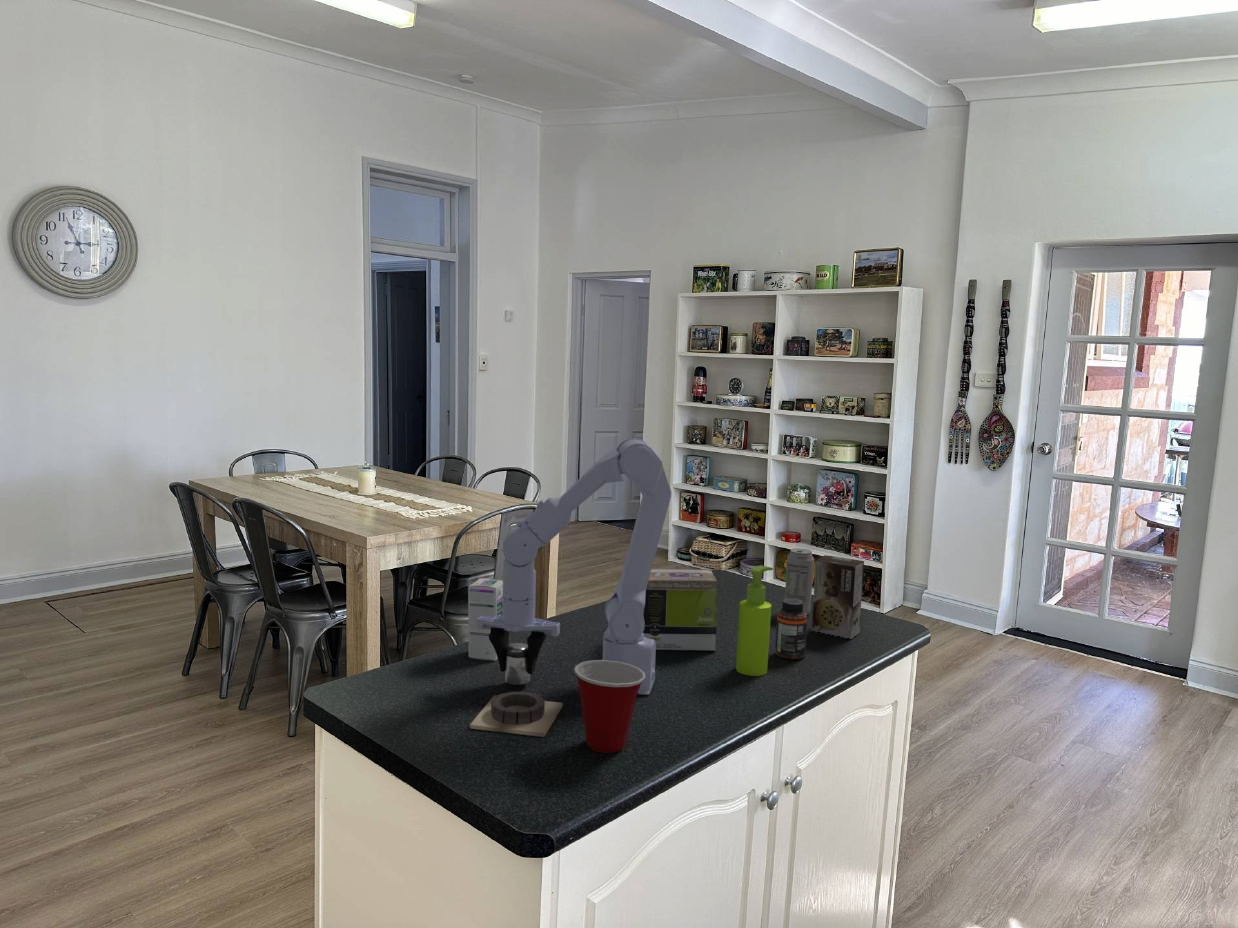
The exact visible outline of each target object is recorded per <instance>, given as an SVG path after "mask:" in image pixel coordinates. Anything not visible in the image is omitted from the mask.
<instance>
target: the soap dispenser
mask: <svg viewBox="0 0 1238 928" xmlns="http://www.w3.org/2000/svg"><path fill="white" fill-rule="evenodd" d="M773 569H774V568H773V567H771V566H766V565H755V566H753V567H752V568H749V569H748V572H749V573H751V574H752V580H751V581H752V582H749V583H748V584H747V587H746V588H747V589H746V599H743V600H740V601H739V612H738V625H737V626H738V629H737V630H738V631H737V644H736V665H735V670H736V672H738V673H739V674H741V675H745V676H748V675H749V676H750V677H760V676H761V675H762V676H765V675H767V673H768V665H769V664H768V663H769V649H770V632H771V619H772V617H771V616H772V604H771V603H770V602H768V601H766V589H767V587H766V585H764V584H763V583H762V578H763V577H762V576H763V573H764V572H767V571H773ZM764 674H765V675H764Z"/></svg>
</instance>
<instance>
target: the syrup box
mask: <svg viewBox="0 0 1238 928" xmlns="http://www.w3.org/2000/svg"><path fill="white" fill-rule="evenodd" d="M467 589H468V590H467V593H468V595H467V597H468V603H467V604H468V605H467V607H468V608H467V609H468V614H467V615H468V617H467V618H468V619H467V621H468V627H467V628H468V631H467V632H468V645H467V646H468V657H469V658H470V659H476V660H482V661H483V660H484V661H495V662H496V661H497V660H498V657H497V654H496V652H495V649H494V647H493V645H492V643H491V642H490V640H489V634H490V631H491V629H483V630H479V629H477V619H478V618H479V617H480V616H502V607H503V579H497V578H490V577H487V578H486V577H484V578H481V577H480V578H478V579H477V580H476V581H474V582H473V583H471V584H470V585H468V588H467Z"/></svg>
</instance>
